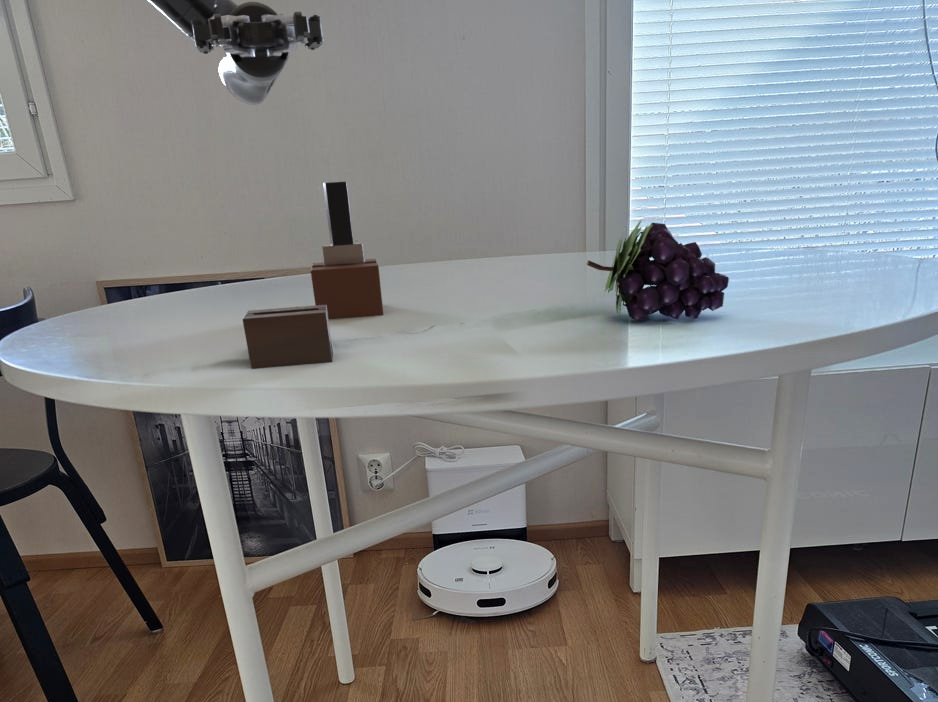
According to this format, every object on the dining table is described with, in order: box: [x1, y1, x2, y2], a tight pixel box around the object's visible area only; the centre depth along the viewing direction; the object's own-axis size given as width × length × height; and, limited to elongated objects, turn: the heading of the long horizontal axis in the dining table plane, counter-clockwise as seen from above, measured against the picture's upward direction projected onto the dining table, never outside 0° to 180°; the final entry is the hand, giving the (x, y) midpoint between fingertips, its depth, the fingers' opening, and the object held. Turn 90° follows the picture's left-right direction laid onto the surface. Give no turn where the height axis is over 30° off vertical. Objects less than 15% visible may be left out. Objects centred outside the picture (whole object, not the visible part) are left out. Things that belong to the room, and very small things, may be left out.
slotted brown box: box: [310, 258, 385, 321], centre depth 96 cm, size 8×8×7 cm
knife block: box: [242, 304, 334, 370], centre depth 78 cm, size 5×7×5 cm
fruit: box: [586, 218, 730, 322], centre depth 90 cm, size 10×11×15 cm
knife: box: [321, 181, 365, 267], centre depth 94 cm, size 3×4×14 cm
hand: (259, 24), depth 91 cm, fingers open, 8 cm apart
